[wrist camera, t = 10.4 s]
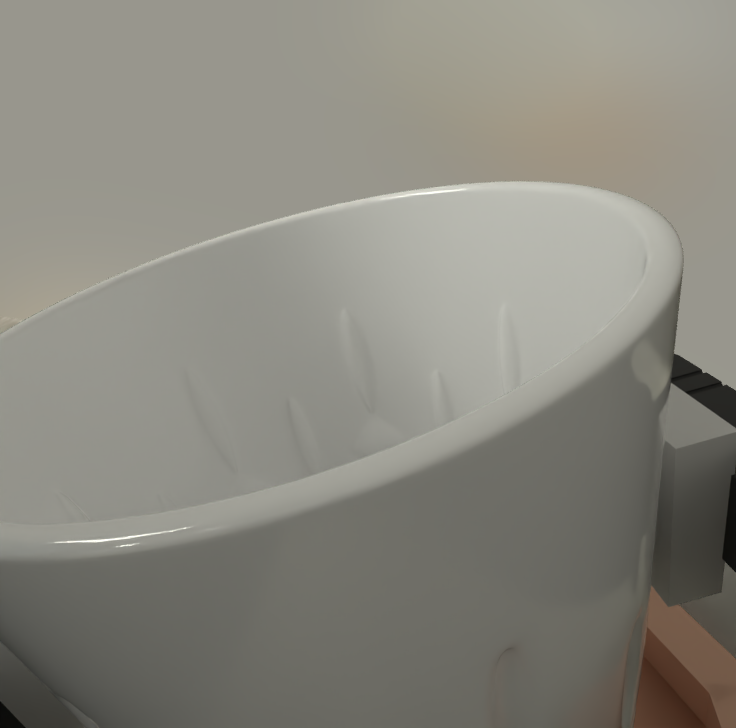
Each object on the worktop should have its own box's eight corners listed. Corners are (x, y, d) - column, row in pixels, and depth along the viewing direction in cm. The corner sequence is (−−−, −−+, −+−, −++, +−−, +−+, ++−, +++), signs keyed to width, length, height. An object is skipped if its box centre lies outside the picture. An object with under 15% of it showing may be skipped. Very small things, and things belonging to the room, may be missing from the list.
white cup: (247, 634, 14) (58, 278, 9) (526, 541, 14) (478, 161, 10) (231, 1172, 7) (-595, 783, 2) (787, 953, 7) (1046, 267, 3)
